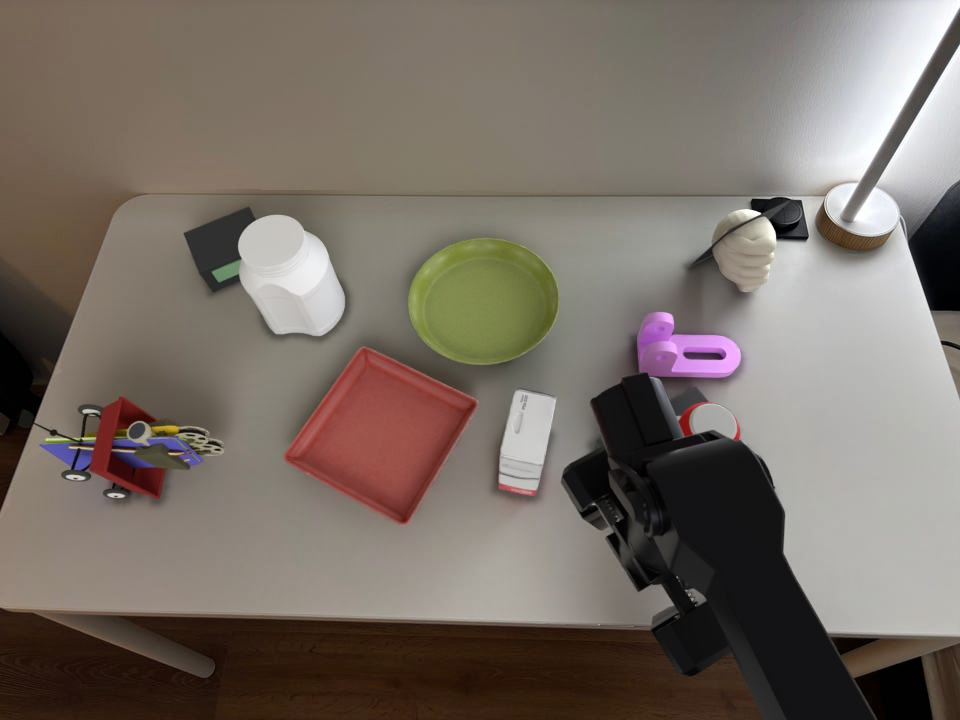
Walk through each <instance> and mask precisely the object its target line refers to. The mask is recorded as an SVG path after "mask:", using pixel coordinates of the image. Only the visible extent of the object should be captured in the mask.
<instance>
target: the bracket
mask: <svg viewBox="0 0 960 720" xmlns="http://www.w3.org/2000/svg"><path fill="white" fill-rule="evenodd" d="M639 328H640V329H639V331H638V333H637V337H636V348H637V359H638V360H637V361H638V362H637V363H638V373H642V372H648V374H649V376H650V377H663V378H665V377H666V378H669V377H670V378H674V377H675V378H717V379H719V378H720V379H721V378H726V377H728V376H730V375H732V374H733V373H734V372H735V371H736V370H737V368H738V367H739V365H740V363H741V360H742V354H741V350H740V348H739V346H738V345H737V343H735V342H734V341H733V340H732V339H730V338H729V337H726V336H723V335H718V334H717V335H715V334H673V332H674V330H675V323H674V316H673V315H672V314H671V313H669V312H665V311H656V312H651V313H649V314H647V315H646V316H645V317H643V320H642V323H641V325H640V327H639ZM684 353H708V354H709V353H712V354H713V353H714V354H715V353H716V354H719V355H720V356H721V357H722V359H690V358H687V357H686V356H685V355H684Z"/></svg>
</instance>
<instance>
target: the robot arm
mask: <svg viewBox="0 0 960 720" xmlns="http://www.w3.org/2000/svg"><path fill="white" fill-rule="evenodd" d="M670 401H671V400H670V398H669V395H668V394H667V391H666V389H665V387H664V385H663V381H662V380H661V379H659V378H657V377H654V376H649V374H648V372H642V373H639V372H637V373H633V374H630V375H625V376H622V377H621V379H620V382H619V383H617V384H615V385H613V386H611V387H608V388H607V389H605V390H603V391H601V392H600V393H599V394H598V395H596V396H595V397H592V398H591V399H590V401H589V407H590V410H591V412H592V415H593V418H594V421H595V424H596V427H597V429H598V432H599V435H600V438H602V441H603V443H604V446H602V447H600V448H598V449H596V448H595V449H594V450H593V451H591V452H589V453H587V454H585V455H583V456H582V457H580V458H577V459H576V460H574V461H572V462H570V463H569V464H568V465H567V466H565V467H564V468H563V471H562V476H561V480H560V484H561V485H562V487H563V489H564V490H565V492H566V494H567V496H568V498H569V500H570V501H571V503H572V504H573V506H574V508H575V509H576V511H577V512H578V514H579V516H580V518H581V519H582V520H583V521H585V522H587V523H588V524H589V525H591V526H592V527H594V528H595V529H596V530H598V531H600V532H601V531H604V530H606V529H607V528H609V529H610V531H611V533H610V534H608V535H606V536H605V538H604V540H605V542H606V543H607V545H608V546H609V548H610V550H611V551H612V553H613V554H614V556H615V557H616V560H617V561H618V563H619V564H620V566H621V567H622V569H623V571H624V572H625V574H626V575H627V577H628V579H629V580H630V582H631V584H632V585H633V587H634V588H635V590H636V592H637V593H640V592H642V591H644V590H645V589H647V588H648V587H650V586H660V585H661V587H662V588H663V590H664V591H665V593H666V594H667V596H668V598H669V599H670V601H671V602H672V604H673V605H671V606H667V607H666V608H664V609H663V610H661V611H659V612H657V613H656V614H655V615H653V616H652V618H651V625H650V632H651V633H652V635H653V636H654V638H655V640H656V641H657V643H658V645H659V646H660V648H661V649H662V651H663V653H664V654H665V656H666V658H667V659H668V660H669V662H670V663H671V665H672V667H673V668H674V670H675V673H677V674H678V675H681V676H684V677H687V678H690V677H694V676H696V675H698V674H700V673H702V672H704V671H705V670H707V669H708V668H710V667H712V666H713V665H714V664H716V663H717V662H719V661H720V660H722V659H724V658H725V657H727V656H728V655H730V654H731V653H732V655H733V658H734V660H735V662H736V664H737V667H738V669H739V671H740V673H741V674H742V677H743V679H744V681H745V683H746V685H747V688H748V689H749V692H750V694H751V696H752V699H753V700H754V702H755V704H756V707H757V709H758V711H759V714H760V715H761V718H762V719H763V720H878V719H877V716H876V715H875V713H874V711H873V709H872V708H871V706H870V704H869V702H868V700H867V699H866V697H865V695H864V694H863V692H862V690H861V688H860V687H859V685H858V683H857V682H856V680H855V678H854V676H853V675H852V673H851V671H850V668H848V666H847V664H846V662H845V661H844V659H843V657H842V656H841V654H840V652H839V650H838V648H837V646H836V645H835V643H834V641H833V640H832V638H831V637H830V635H829V633H828V630H827V629H826V628H825V626H824V624H823V622H822V621H821V618H820V617H819V615H818V614H817V612H816V610H815V608H814V606H813V605H812V603H811V601H810V600H809V598H808V596H807V595H806V592H805V591H804V589H803V588H802V586H801V584H800V583H799V582H800V581H798V579H797V577H796V575H795V574H794V570H793V569H792V567H791V565H790V563H789V561H788V559H787V557H786V555H785V553H784V550H785V549H784V548H785V530H786V529H785V528H786V511H785V508H784V507H783V504H782V502H781V501H780V498H779V497H778V494H777V492H776V490H775V489H774V486H775V485H774V480H773V477H772V475H771V472H770V469H769V467H768V465H767V463H766V462H765V460H764V459H763V457H762V456H761V455H760V454H759V453H757V452H756V451H755V450H754V449H752V448H751V446H749V444H747V443H746V442H745V441H744V440H742V439H739V440H737V441H736V440H734V439H731V438H729V437H727V436H725V435H723V434H721V433H719V432H717V431H715V430H709V431H705V432H701V433H697V434H693V435H689V436H684V434H683V431H682V429H681V427H680V424H679V422H678V420H677V417H676V415H675V413H674V410H673V408H672V405H671V403H670ZM689 594H690V595H689ZM692 599H693V600H692Z"/></svg>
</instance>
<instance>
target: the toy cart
mask: <svg viewBox="0 0 960 720" xmlns="http://www.w3.org/2000/svg"><path fill="white" fill-rule="evenodd" d="M77 412H78V413H79V414H80V415H82V416H83V418H82V423H81V424H82V425H81V433H80V436H79V437H71V436H67V435H64V434H62V433H60V432H58V430H57V429H55V428H54V429H49V428H47V427H45V426H43V425H40V424H38V423H36V422H34V418H35V416H34V414H33V413H32V412H31V411H29V410H27V409H24V408H23V409H21V412H20V415H19V419H18V422H17V426H19V427H20V428H25V429H30V428H32V426H33V425H35V426H37V427H39V428H41V429H42V430H45V431H47V432H49V435H50V436H52V437H44V438H43V439H44V440H43V441H44V442H42V443H39V444H38V446H39V447H41V448H42V449H43V450H45V451H46V452H48V453H50V455H52V456H54V457H56V458H57V459H58V460H60V461H61V462H63V463H65V464H66V465H67V466H69V467H70V469H66V470H63V471H61V473H60V476H61V478H62V479H63V480H66V481H69V482H70V481H71V482H83V483H84V482H87V481H90V480H91V479H92V474H91V473H93V474H95V475H97V476H99V477H101V478H104V479H106V480H108V481H110V482H112V485H111V488H106V489H104V490H103V491H102V495H103V496H104V497H105V498H108V499H113V500H125V499H128V498H129V497H131V493H130V491H131V492H132V493H133V492H134V493H135V494H140V495H145V496H150V497H152V498H153V499H156V500H160V499H161V495H162V489H163V483H164V477H165V472H166V469H169V470H182V471H183V470H184V471H190V470H191V466H198V465H199V464H200V463H204V461H205V460H204V459H203V458H202V457H201V456H205V457H216V456H221V455H223V454H224V453H225V451H224V449H223V448H225V446H226V443H224V441H222V440H220V439H217V438H212V437H211V438H210V437H209V436H210V432H209V431H208V430H207V429H206V428H203V427H199V426H194V425H193V426H192V425H184V426H180V425H178V424H176V423H174V422H173V421H172V420H171V419H170V418H168V417H166V418H162V419H158V418H156V417H155V416H153V415H151V414H150V413H149V412H147V411H146V410H144V409H142V408H141V407H139V405H137V404H135V403H133V402H132V401H130V400H129V399H127V398H126V397H125V396H122V395H120V396H118V400H115V401H113V402H111V403H109V404H107V405H106V406H104V407H103V406H101V405H97V404H92V403H85V404H81V405H79V406H78V407H77ZM88 417H89V418H98V419H99V420H100V421H99V424H98V429H97V431H93V432H86V428H87V427H86V426H87V419H88ZM32 424H33V425H32ZM203 431H204V432H203ZM205 432H206V433H205ZM56 436H58V437H56ZM88 471H89V472H88ZM90 472H91V473H90ZM116 485H119V486H121V487H120V488H116ZM126 489H127V490H126Z"/></svg>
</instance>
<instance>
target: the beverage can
mask: <svg viewBox="0 0 960 720" xmlns="http://www.w3.org/2000/svg"><path fill="white" fill-rule="evenodd" d="M678 422H679V424H680V427H681V429H682V431H683V434H684V436H689V435H693V434H697V433H701V432H705V431H709V430H715V431H717V432H719V433H721V434H723V435H725V436H727V437H729V438H731V439H734V440H736V441H737V440H741V427H740V423H739V421H738V419H737V418H736V416H735V415H734V413H733V412H732V411H730V410H729V409H728V408H727V407H725V406H724V405H721V404H719V403H716V402H711V401H709V402H703V403H698V404H695V405H693V406H691V407H689V408H688V409H687V410H686V411H685V412H684V413H683V414H682V416H681V418H680V419H679V421H678Z"/></svg>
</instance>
